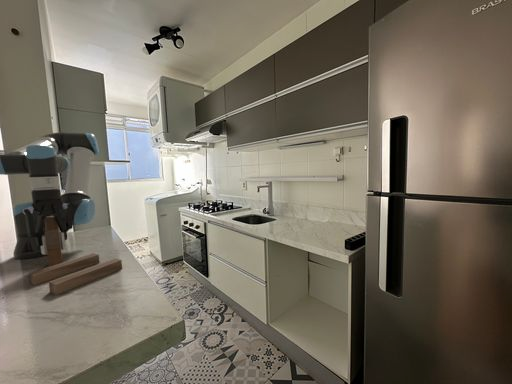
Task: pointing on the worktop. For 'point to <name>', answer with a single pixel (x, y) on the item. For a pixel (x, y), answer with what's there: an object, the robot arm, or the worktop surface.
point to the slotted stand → (77, 277)
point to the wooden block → (53, 241)
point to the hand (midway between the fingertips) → (54, 251)
